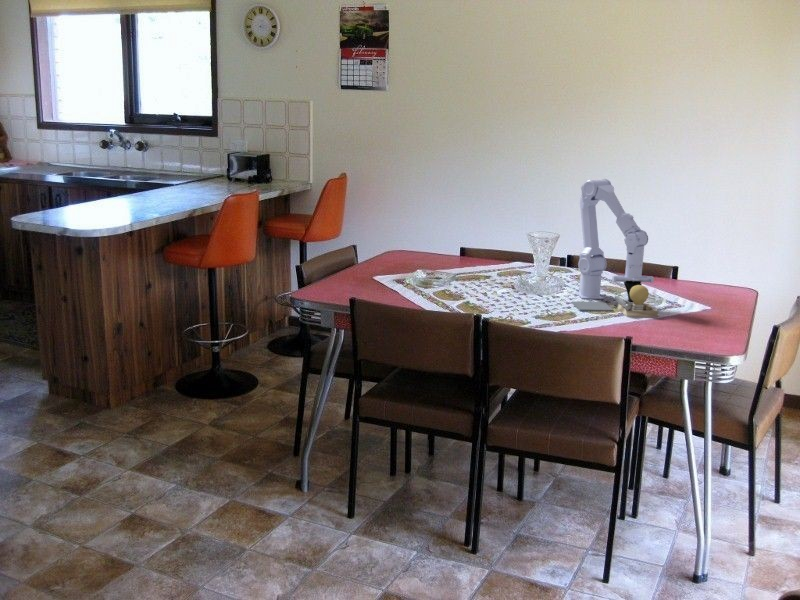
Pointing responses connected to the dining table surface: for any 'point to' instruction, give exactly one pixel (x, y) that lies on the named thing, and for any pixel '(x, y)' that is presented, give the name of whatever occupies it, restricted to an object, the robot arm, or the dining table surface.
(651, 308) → the square wooden frame
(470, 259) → the dining table surface
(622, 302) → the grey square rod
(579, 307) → the gray square panel
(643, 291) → the light bulb
